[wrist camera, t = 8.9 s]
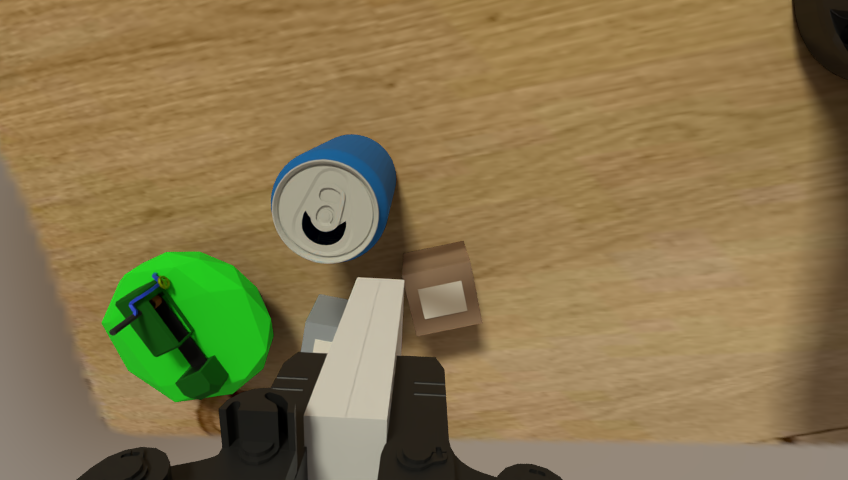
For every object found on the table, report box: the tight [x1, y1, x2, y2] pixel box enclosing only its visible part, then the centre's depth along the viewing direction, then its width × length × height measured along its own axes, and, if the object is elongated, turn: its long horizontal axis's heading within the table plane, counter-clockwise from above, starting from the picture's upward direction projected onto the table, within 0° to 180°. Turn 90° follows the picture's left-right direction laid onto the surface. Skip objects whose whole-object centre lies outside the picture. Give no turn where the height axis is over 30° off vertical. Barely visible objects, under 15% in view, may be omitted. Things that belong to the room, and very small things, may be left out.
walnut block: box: [402, 241, 482, 336], centre depth 36 cm, size 5×5×5 cm
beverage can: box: [271, 134, 396, 264], centre depth 30 cm, size 6×6×12 cm
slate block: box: [301, 294, 348, 353], centre depth 37 cm, size 5×5×5 cm
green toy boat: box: [102, 252, 274, 402], centre depth 33 cm, size 12×12×11 cm
